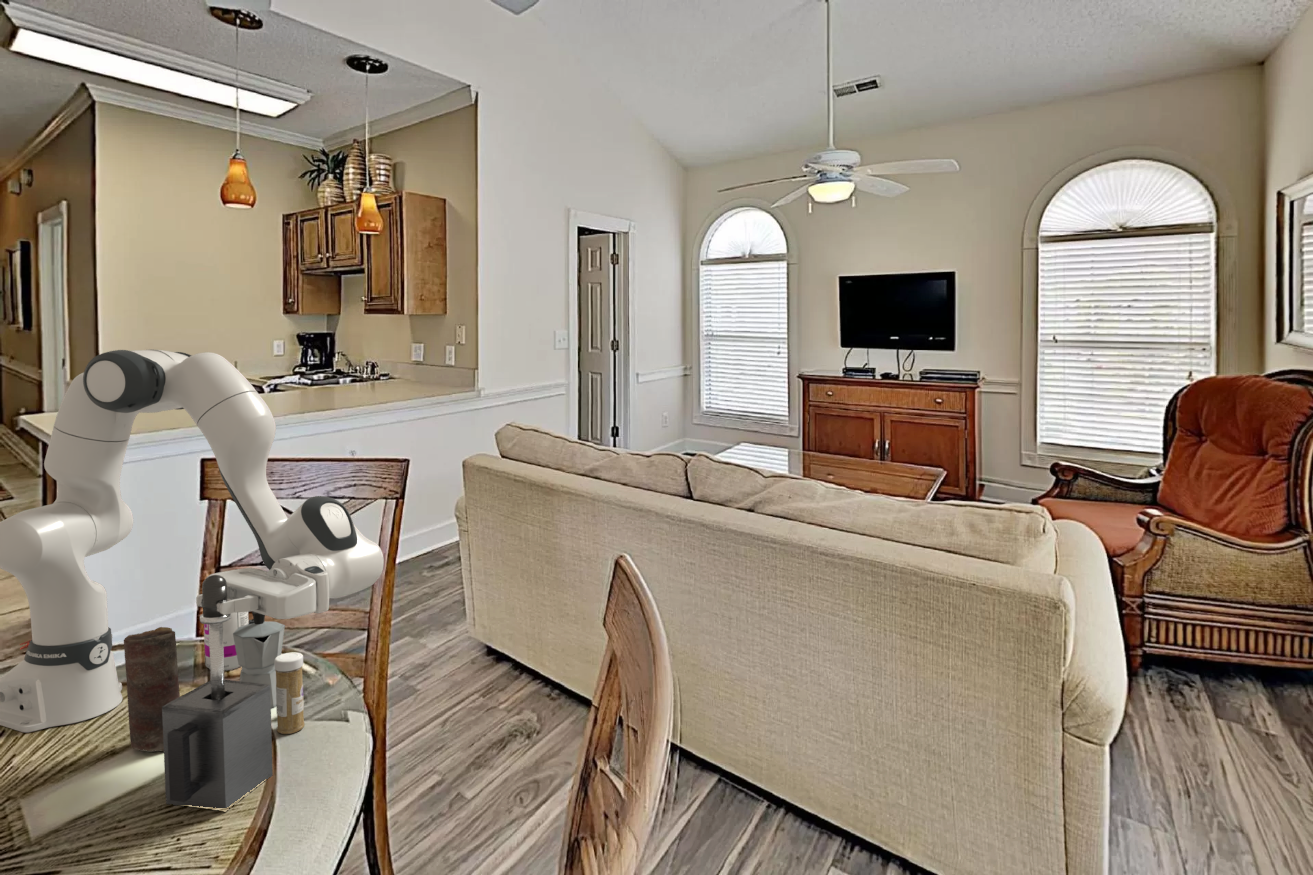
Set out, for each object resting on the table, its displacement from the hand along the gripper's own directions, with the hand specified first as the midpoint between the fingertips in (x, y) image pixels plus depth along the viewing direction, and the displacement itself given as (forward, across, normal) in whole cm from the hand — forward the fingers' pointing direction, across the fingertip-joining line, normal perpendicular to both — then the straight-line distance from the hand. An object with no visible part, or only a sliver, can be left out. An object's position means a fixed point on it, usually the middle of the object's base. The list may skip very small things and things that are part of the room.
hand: (208, 605), depth 110 cm
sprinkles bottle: (-18, -8, +29) cm, 36 cm away
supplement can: (-28, -45, +30) cm, 61 cm away
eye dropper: (-1, 0, +18) cm, 18 cm away
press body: (+1, +1, +29) cm, 29 cm away
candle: (-2, -22, +29) cm, 37 cm away
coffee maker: (-22, -24, +30) cm, 44 cm away
